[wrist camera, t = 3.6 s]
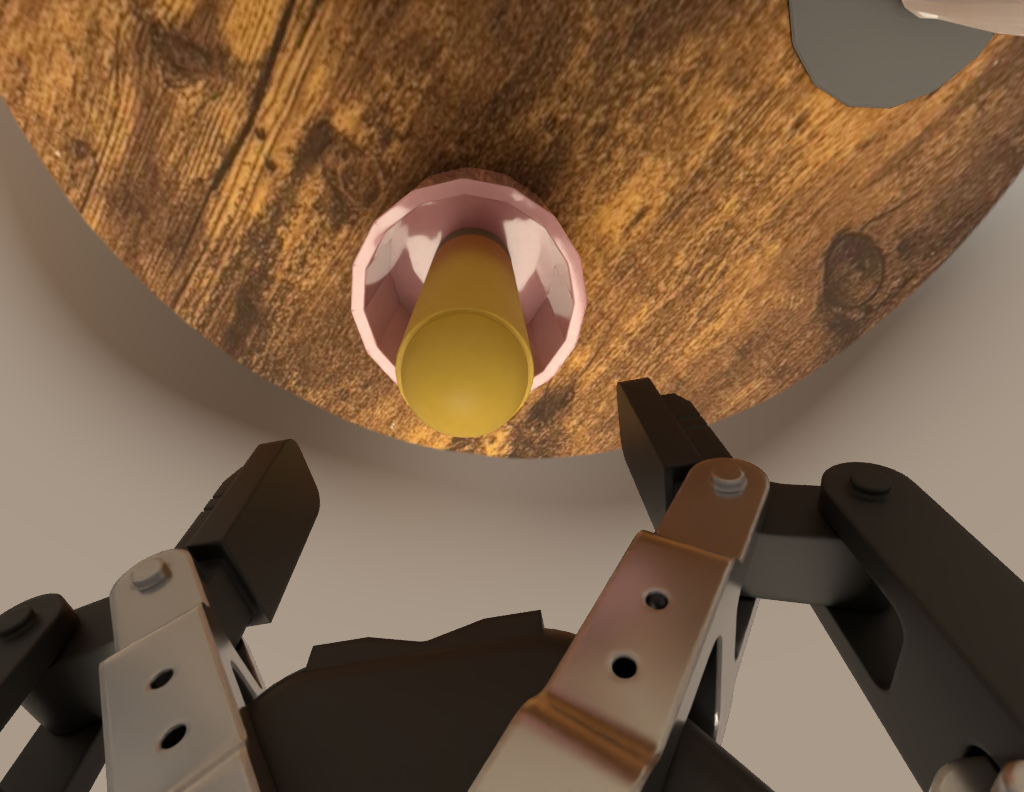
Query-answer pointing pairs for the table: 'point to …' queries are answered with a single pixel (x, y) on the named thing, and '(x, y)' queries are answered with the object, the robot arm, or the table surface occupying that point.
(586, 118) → the table surface
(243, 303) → the table surface
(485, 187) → the pot
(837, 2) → the cup
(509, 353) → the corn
